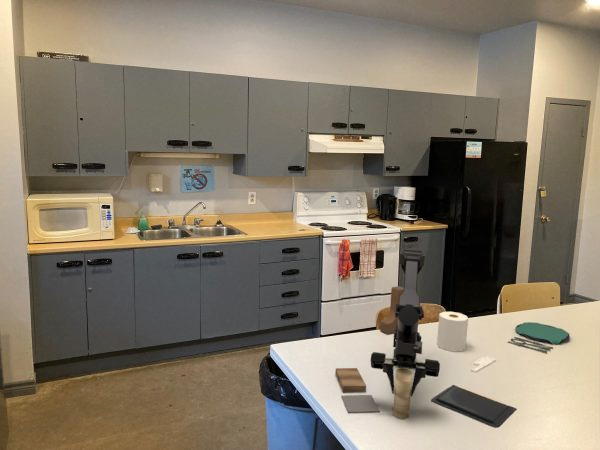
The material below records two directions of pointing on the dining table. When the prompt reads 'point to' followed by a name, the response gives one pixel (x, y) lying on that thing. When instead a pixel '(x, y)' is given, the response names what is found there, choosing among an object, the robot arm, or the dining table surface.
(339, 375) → the walnut slab
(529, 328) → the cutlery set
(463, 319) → the toilet paper
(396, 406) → the birch roller
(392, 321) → the wooden scoop
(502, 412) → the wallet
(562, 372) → the dining table surface
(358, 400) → the support pad
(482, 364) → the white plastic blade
